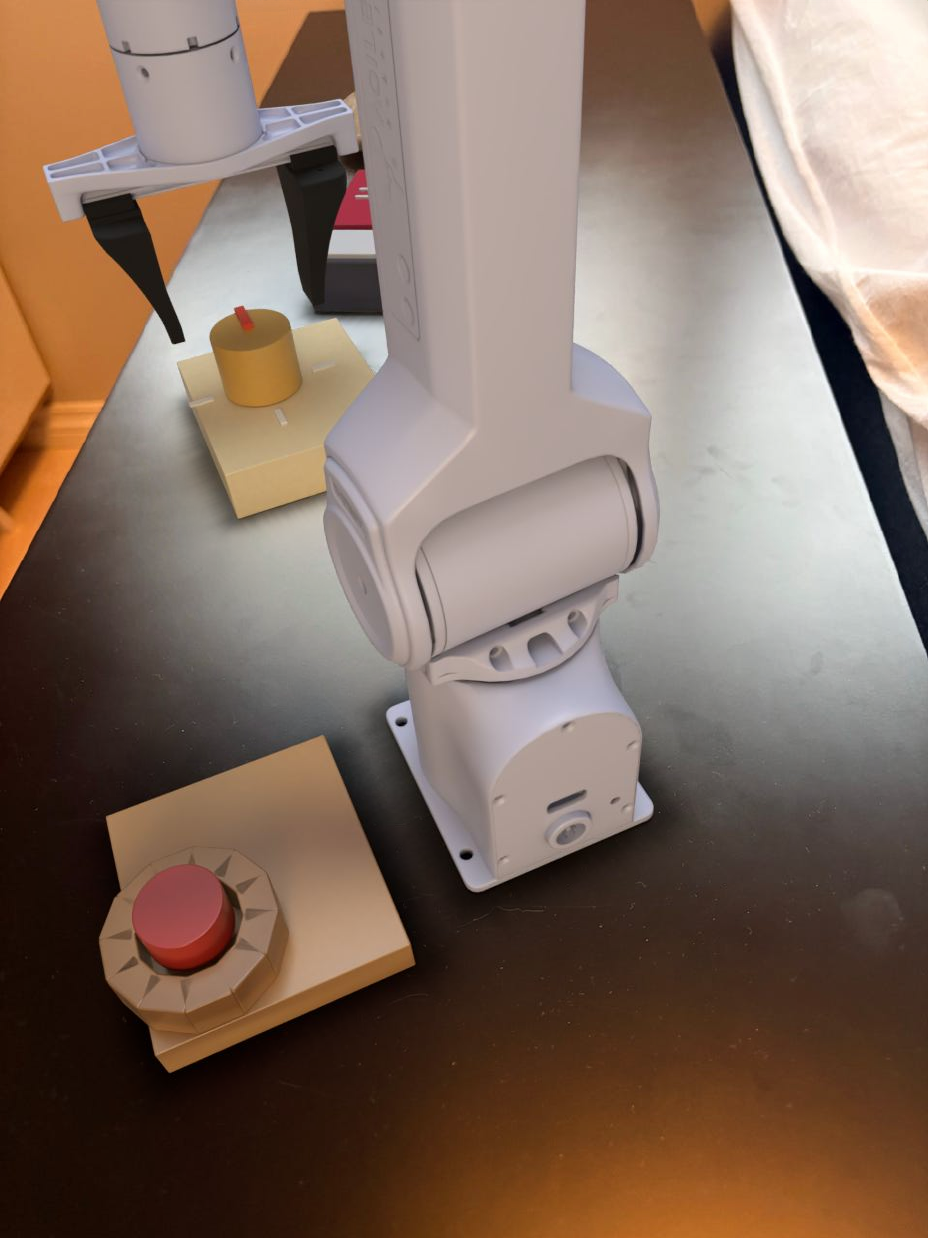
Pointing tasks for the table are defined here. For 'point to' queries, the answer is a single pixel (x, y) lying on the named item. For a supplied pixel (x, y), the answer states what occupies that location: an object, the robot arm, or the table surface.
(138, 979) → the button base
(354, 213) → the calculator
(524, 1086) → the table surface
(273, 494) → the panel
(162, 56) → the robot arm
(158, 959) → the power button
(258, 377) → the dimmer knob
